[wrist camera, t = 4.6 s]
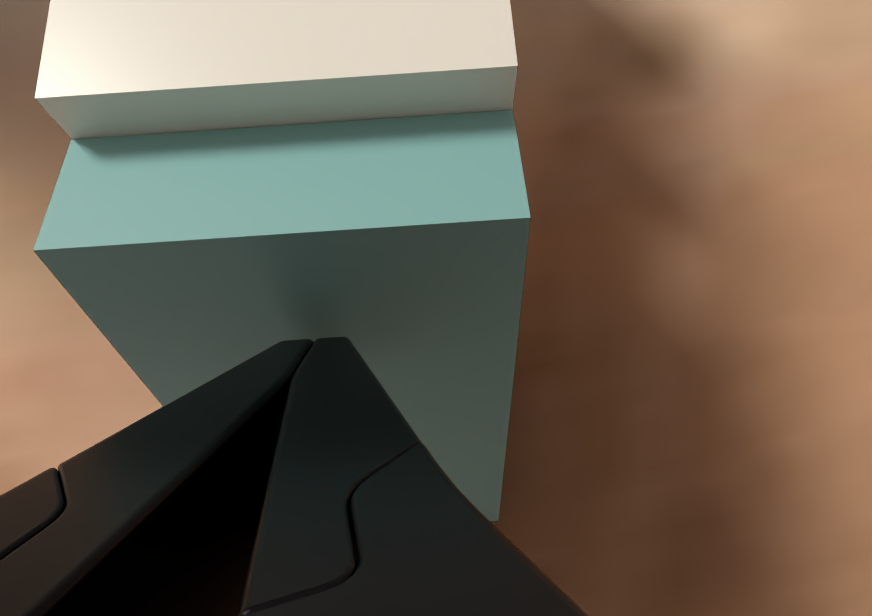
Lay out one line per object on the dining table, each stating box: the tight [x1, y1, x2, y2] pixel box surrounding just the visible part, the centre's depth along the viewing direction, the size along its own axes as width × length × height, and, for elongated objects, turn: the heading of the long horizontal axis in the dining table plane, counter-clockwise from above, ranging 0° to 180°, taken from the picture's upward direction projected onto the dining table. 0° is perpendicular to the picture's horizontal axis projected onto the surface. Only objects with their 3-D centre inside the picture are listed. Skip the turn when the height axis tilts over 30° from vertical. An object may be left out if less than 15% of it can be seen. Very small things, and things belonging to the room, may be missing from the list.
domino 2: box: [33, 110, 531, 521], centre depth 12 cm, size 2×5×10 cm, turn 94°
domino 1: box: [35, 0, 518, 139], centre depth 12 cm, size 2×5×10 cm, turn 93°
